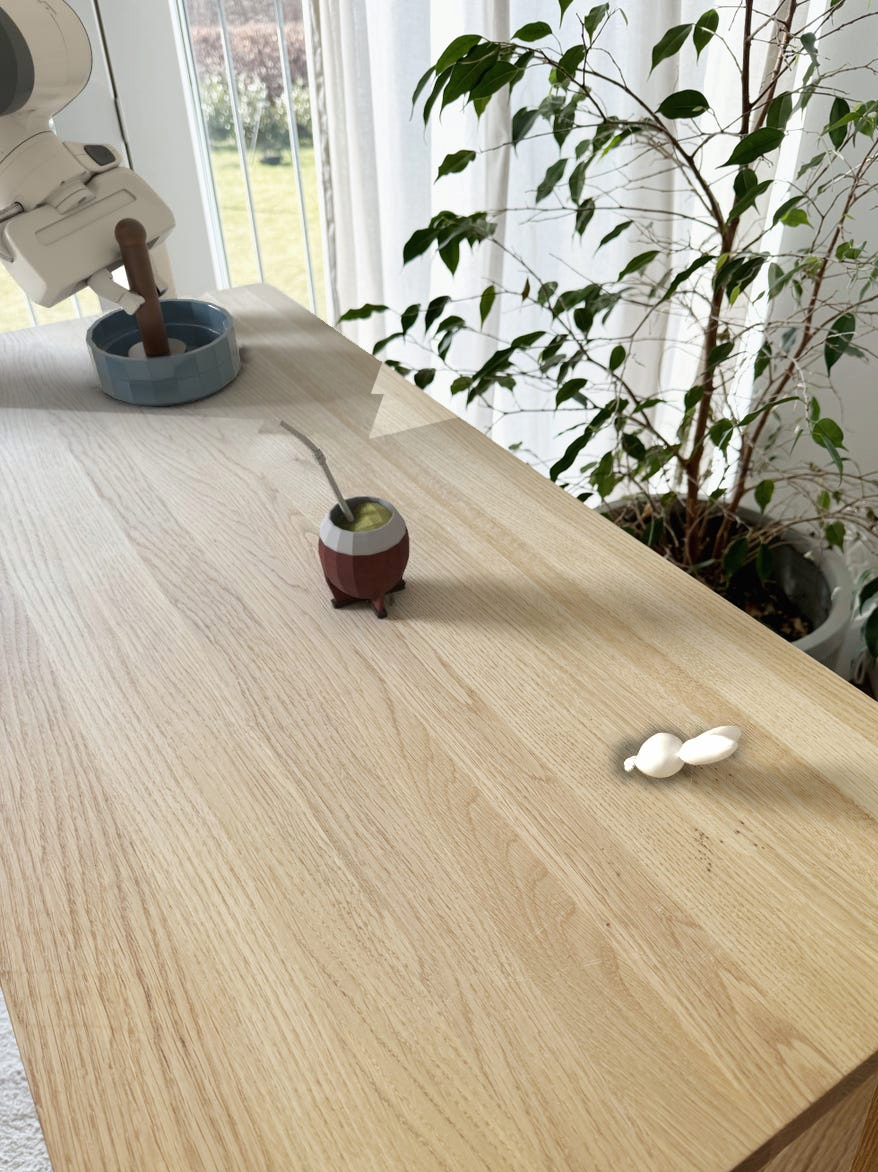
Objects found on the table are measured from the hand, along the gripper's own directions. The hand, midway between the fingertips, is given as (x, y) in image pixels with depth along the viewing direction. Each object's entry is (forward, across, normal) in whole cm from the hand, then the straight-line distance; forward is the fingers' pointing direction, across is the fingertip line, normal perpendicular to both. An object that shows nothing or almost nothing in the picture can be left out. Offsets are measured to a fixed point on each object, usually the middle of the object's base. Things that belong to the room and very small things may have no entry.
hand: (150, 301), depth 102 cm
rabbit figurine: (+52, -34, -39) cm, 74 cm away
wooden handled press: (+6, 0, +6) cm, 8 cm away
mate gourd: (+32, -25, -19) cm, 45 cm away
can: (-1, +12, +14) cm, 18 cm away
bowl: (+6, +2, +8) cm, 10 cm away
